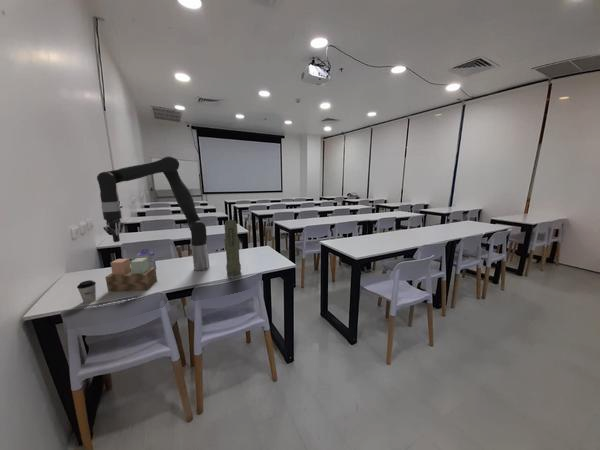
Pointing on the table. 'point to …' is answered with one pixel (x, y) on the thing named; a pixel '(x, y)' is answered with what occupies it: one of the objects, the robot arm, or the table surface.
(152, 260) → the ink cartridge box
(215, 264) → the table surface
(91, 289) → the coffee cup
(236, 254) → the green carved pillar
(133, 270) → the plunger
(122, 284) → the housing
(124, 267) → the plunger
